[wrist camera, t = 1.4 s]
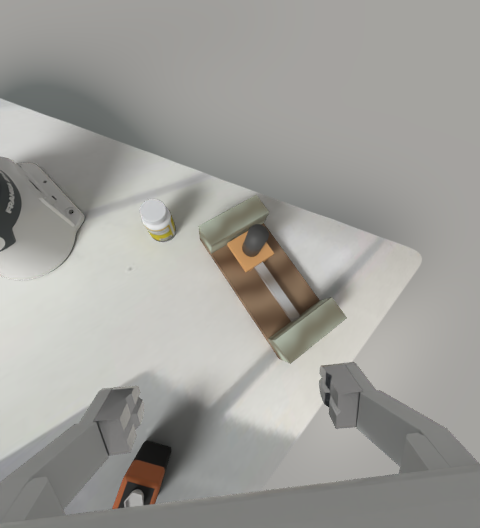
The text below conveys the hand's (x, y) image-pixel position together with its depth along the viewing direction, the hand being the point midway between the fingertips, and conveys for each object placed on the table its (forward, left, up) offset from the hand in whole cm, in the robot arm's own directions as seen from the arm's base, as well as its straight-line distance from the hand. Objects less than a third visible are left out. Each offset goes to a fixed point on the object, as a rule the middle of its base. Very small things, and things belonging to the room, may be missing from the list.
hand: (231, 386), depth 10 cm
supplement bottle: (-23, +3, -31) cm, 39 cm away
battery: (+9, -17, -31) cm, 37 cm away
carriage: (-10, +14, -29) cm, 34 cm away
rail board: (-5, +14, -31) cm, 34 cm away
